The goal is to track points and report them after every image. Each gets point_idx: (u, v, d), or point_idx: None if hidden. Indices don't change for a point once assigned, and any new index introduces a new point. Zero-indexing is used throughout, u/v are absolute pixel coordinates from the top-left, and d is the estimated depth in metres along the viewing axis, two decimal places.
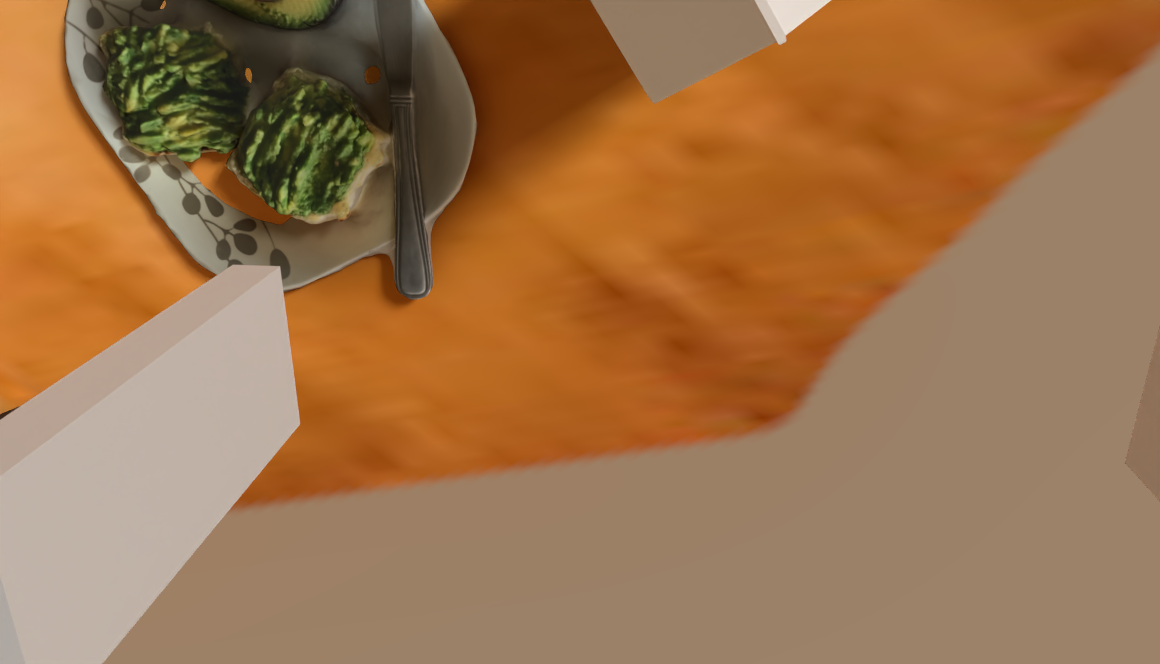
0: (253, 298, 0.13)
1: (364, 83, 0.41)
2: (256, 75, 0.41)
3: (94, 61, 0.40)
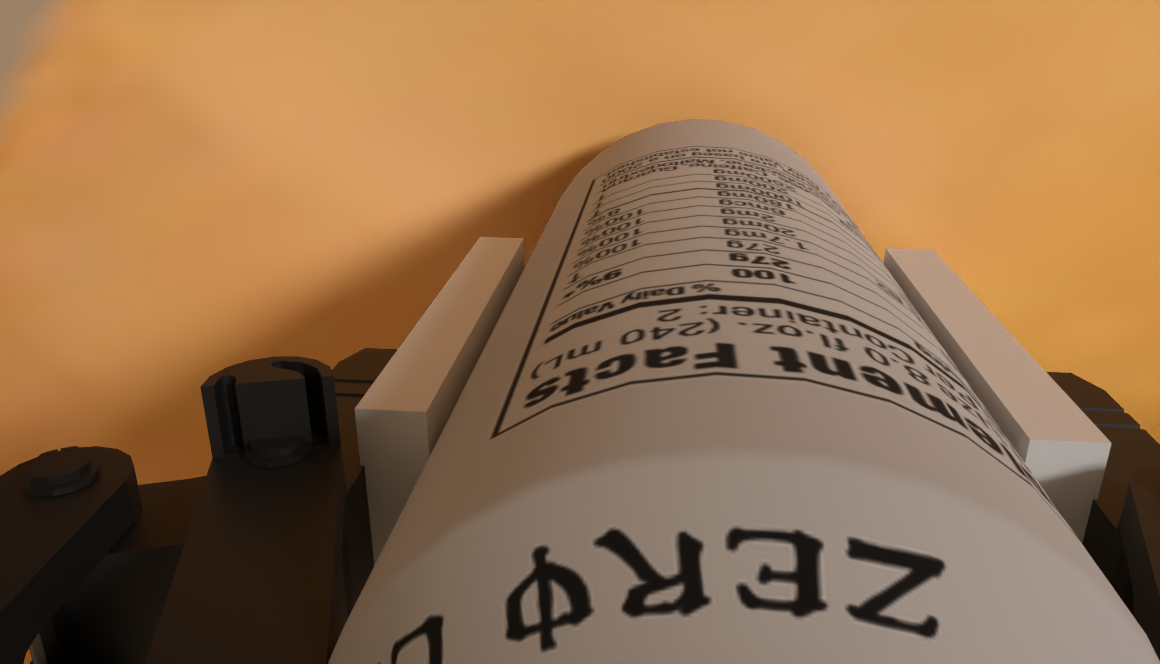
0: (514, 265, 0.14)
1: None
2: None
3: None
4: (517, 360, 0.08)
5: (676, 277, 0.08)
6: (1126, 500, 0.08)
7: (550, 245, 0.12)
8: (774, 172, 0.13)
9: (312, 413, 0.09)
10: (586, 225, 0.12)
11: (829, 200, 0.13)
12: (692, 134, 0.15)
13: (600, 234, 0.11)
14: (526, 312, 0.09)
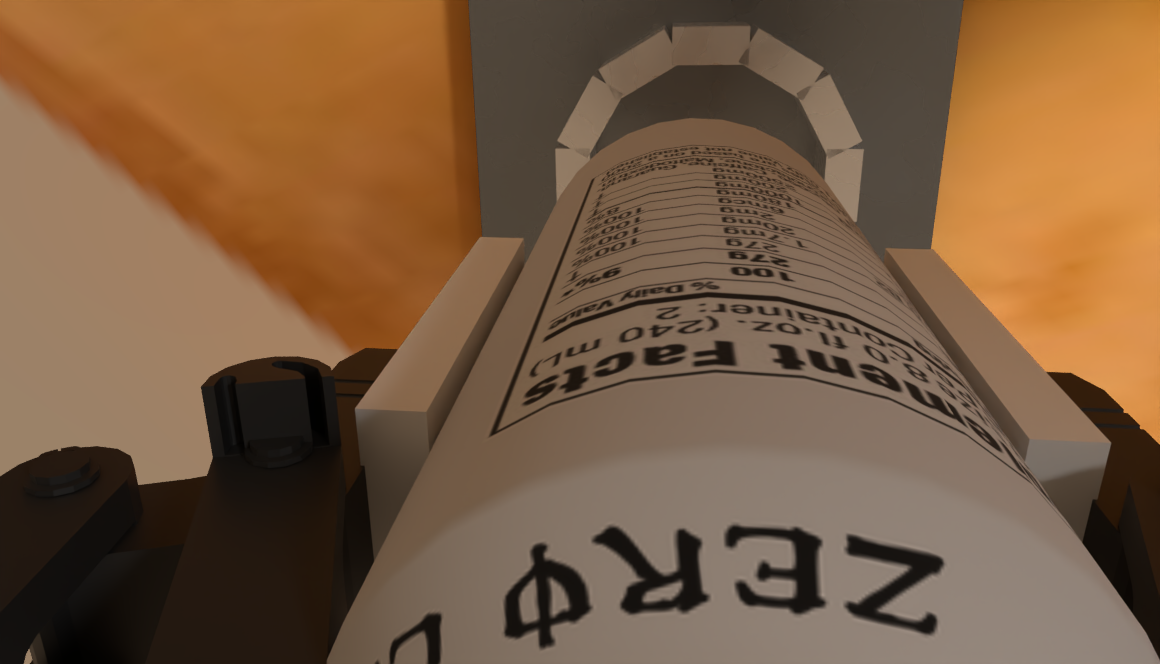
0: (514, 265, 0.14)
1: None
2: None
3: None
4: (515, 358, 0.08)
5: (675, 275, 0.08)
6: (1126, 500, 0.08)
7: (549, 244, 0.12)
8: (773, 171, 0.13)
9: (312, 413, 0.09)
10: (585, 224, 0.11)
11: (828, 199, 0.13)
12: (691, 133, 0.15)
13: (599, 233, 0.11)
14: (525, 310, 0.09)
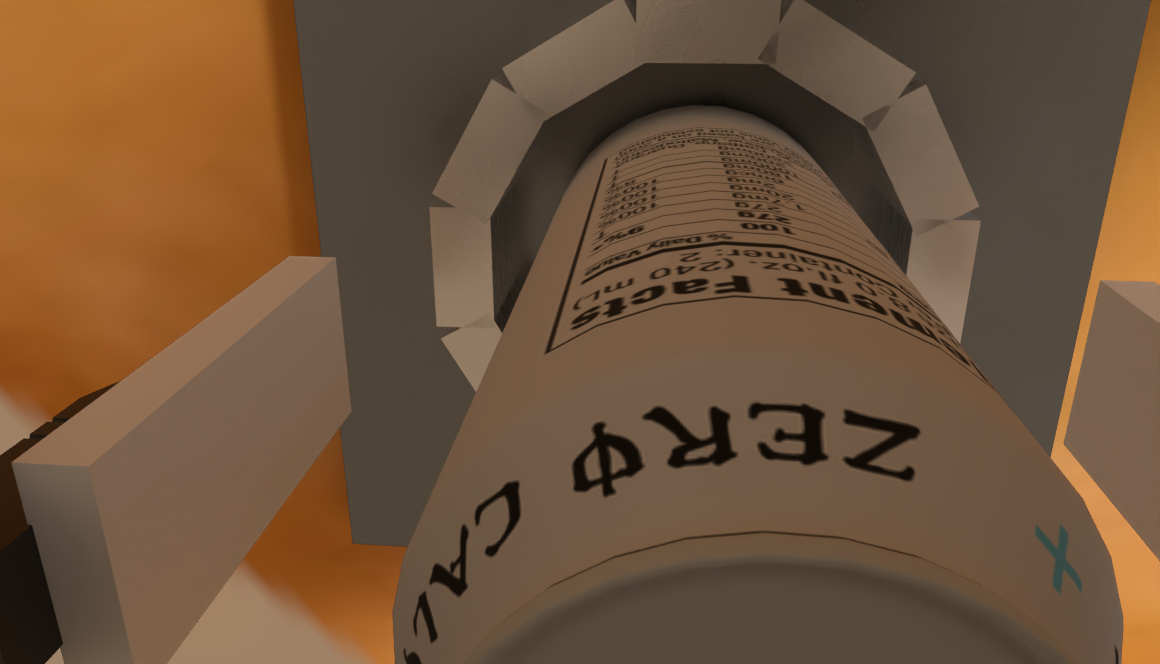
0: (313, 288, 0.13)
1: None
2: None
3: None
4: (558, 300, 0.09)
5: (692, 230, 0.10)
6: None
7: (571, 214, 0.13)
8: (772, 150, 0.14)
9: None
10: (605, 195, 0.13)
11: (822, 176, 0.15)
12: (696, 117, 0.16)
13: (620, 200, 0.12)
14: (558, 265, 0.11)
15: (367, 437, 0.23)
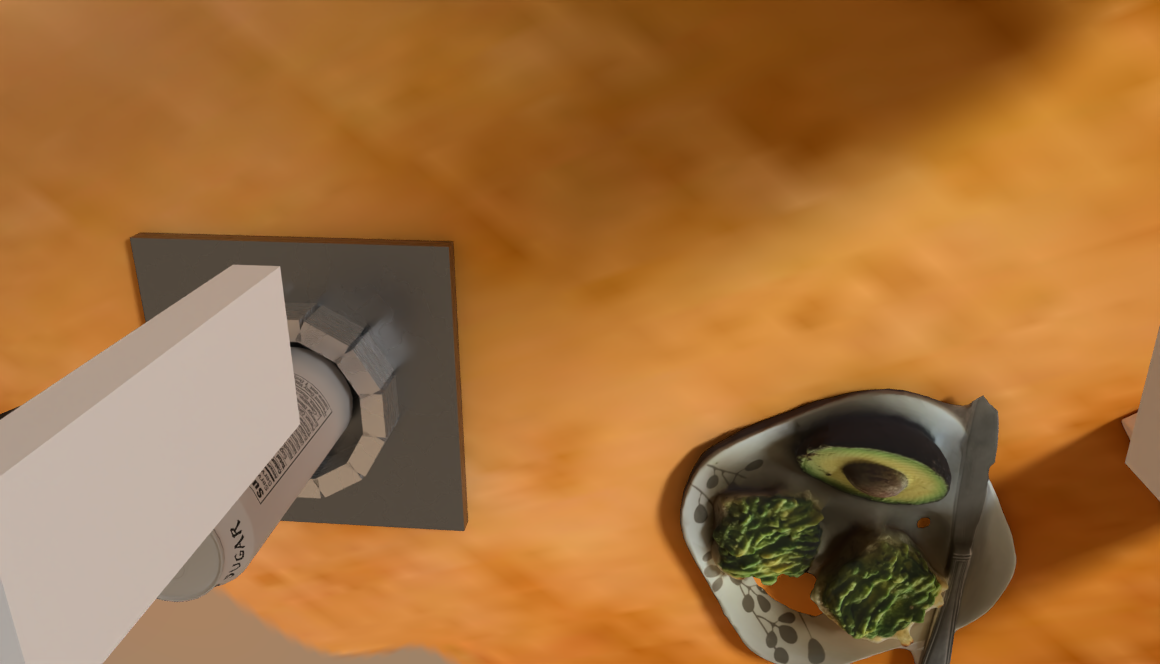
0: (253, 298, 0.13)
1: (915, 528, 0.50)
2: (825, 518, 0.51)
3: (703, 509, 0.50)
4: None
5: None
6: None
7: None
8: None
9: None
10: None
11: (301, 387, 0.45)
12: None
13: None
14: None
15: None
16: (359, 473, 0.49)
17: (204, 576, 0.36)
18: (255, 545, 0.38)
